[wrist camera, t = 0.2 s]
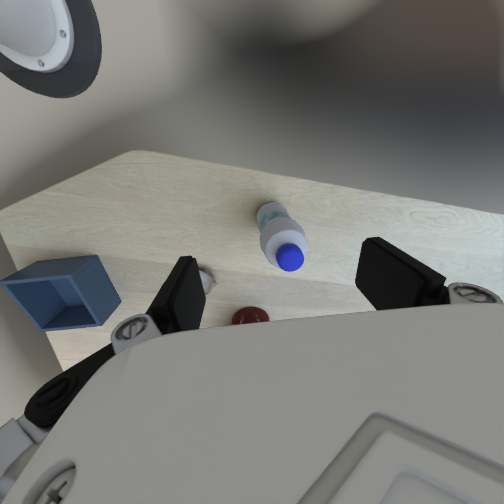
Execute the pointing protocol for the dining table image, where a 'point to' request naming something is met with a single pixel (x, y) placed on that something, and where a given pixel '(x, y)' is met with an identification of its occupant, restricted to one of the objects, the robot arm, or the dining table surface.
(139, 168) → the dining table surface
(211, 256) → the dining table surface
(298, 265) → the bottle
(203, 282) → the seashell
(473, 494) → the robot arm
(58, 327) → the bin
